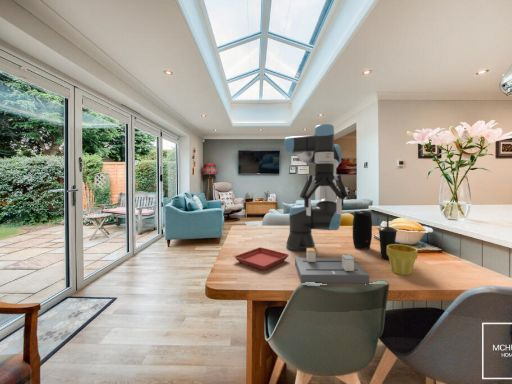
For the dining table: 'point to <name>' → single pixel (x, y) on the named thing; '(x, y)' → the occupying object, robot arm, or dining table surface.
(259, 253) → the plant saucer
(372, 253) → the dining table surface
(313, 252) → the block
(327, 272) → the fader board
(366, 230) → the portable speaker
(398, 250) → the plant pot
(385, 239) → the black bottle
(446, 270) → the dining table surface
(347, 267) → the fader front
